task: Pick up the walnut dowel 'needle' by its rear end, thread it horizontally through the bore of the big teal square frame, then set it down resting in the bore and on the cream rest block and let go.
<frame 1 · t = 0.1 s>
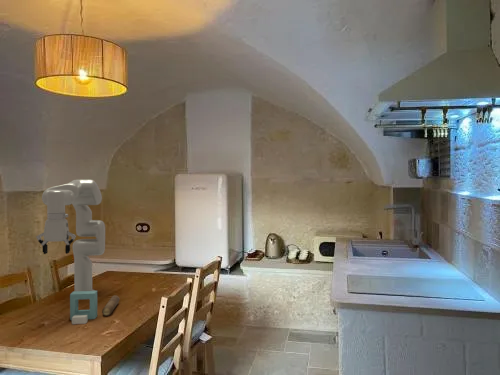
hand: (56, 253, 187), 31 cm above the table, fingers open, 9 cm apart
dowel: (111, 309, 203), on the table
rest block: (79, 322, 183), on the table
teal square frame: (84, 317, 190), on the table
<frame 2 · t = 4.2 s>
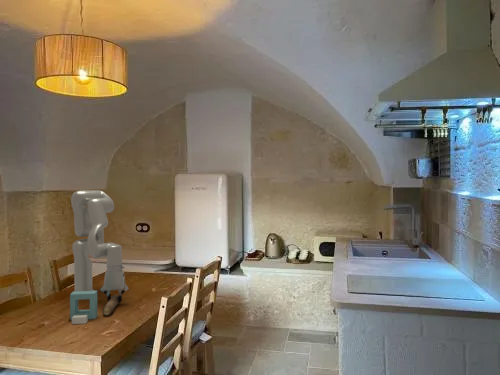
hand: (114, 302, 211), 1 cm above the table, fingers closed on dowel, 4 cm apart
dowel: (111, 309, 203), on the table, touching gripper
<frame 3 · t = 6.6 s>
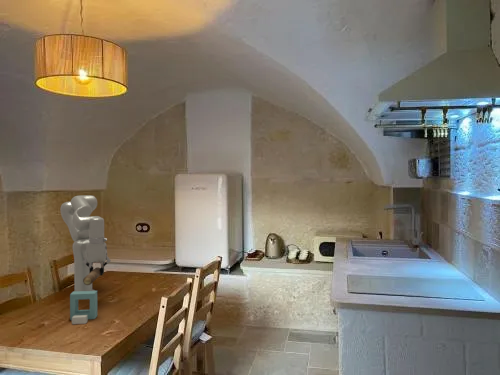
hand: (96, 274, 214), 15 cm above the table, fingers closed on dowel, 4 cm apart
dowel: (92, 280, 206), point 14 cm above the table, touching gripper
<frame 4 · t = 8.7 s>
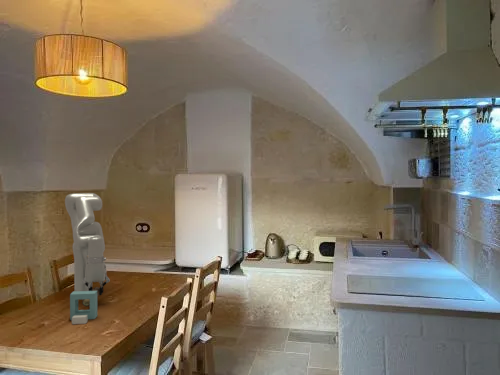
hand: (95, 294, 212), 5 cm above the table, fingers closed on dowel, 4 cm apart
dowel: (91, 300, 204), point 4 cm above the table, touching gripper
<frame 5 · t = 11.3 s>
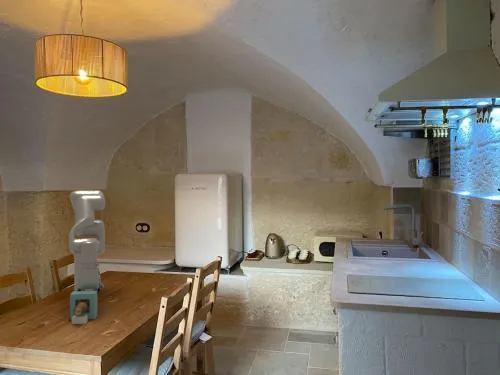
hand: (89, 301, 199), 5 cm above the table, fingers closed on dowel, 4 cm apart
dowel: (84, 308, 191), point 4 cm above the table, touching gripper
when the fingers open (4 cm above the table, at t = 13.3 s): dowel stays where it is, resting on teal square frame, rest block.
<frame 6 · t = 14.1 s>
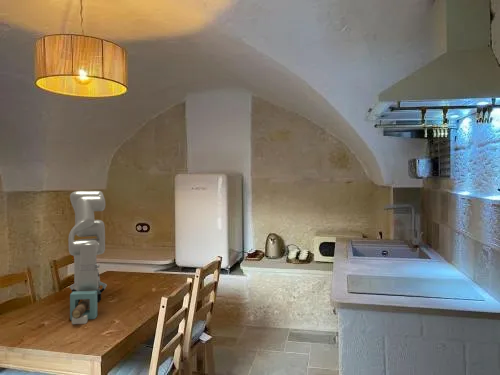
hand: (88, 302, 198), 5 cm above the table, fingers open, 9 cm apart
dowel: (83, 311, 190), point 3 cm above the table, tilted 7°, touching teal square frame, rest block
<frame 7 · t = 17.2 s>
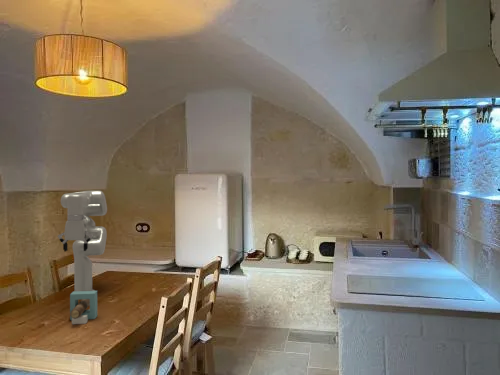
hand: (75, 250, 210), 28 cm above the table, fingers open, 9 cm apart
dowel: (83, 311, 190), point 3 cm above the table, tilted 22°, touching teal square frame, rest block
at the end: dowel inside the target area on the teal square frame (0.2 cm from its centre), point 3.2 cm above the teal square frame's base; dowel touching teal square frame, rest block; the gripper is holding nothing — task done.
